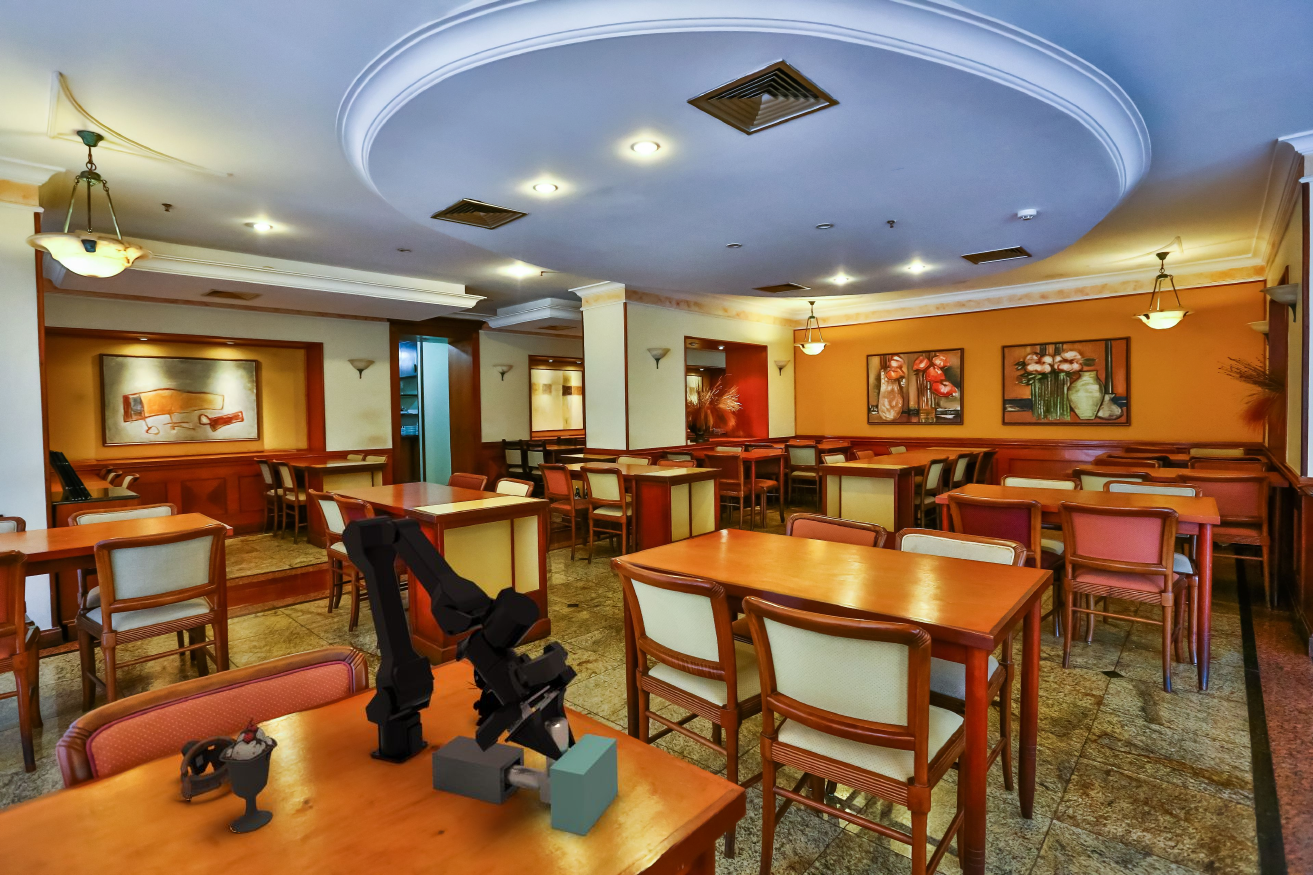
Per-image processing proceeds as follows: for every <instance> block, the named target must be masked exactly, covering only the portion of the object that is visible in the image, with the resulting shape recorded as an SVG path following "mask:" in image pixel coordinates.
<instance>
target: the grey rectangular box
mask: <svg viewBox="0 0 1313 875" xmlns="http://www.w3.org/2000/svg"><path fill="white" fill-rule="evenodd" d="M431 762H432V763H431V764H432V768H431V769H432V789H433V790H436V791H441V792H444V793H449V794H454V795H458V796H462V797H466V798H470V799H475V800H478V801H483V802H486V803H492V804H495V805H500V806H501V805H502V804H503V803H505V801H506V800H508V799H509V798H510V797H511V796H512V795H513V794H515V792H516V791H517V790H518V789H520V788H521V787H519V786H515V785H510V784H506V783H504V770H505V769H506V768H507V767H509V766H510V765H511V764H515V765H520V766H525V748H524V747H519V746H514V745H510V744H505V743H499V742H497V743H496V744H494V745H493V746H492V747H490V748H489V749H488V750H486V751H485V752H483V751H482V749H481V748H480V747H479V745H478V744H477V742H476V741H475V738H473V737H469V736H464V735H457V736H456V737H454V738H453V739H452V740H450V741H449V742H447V743H446V744H444V745H442V746H441V747H440V748H438V749H437V750H435V751H434V752H433V753H431Z"/></svg>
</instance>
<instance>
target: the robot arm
mask: <svg viewBox="0 0 1313 875" xmlns="http://www.w3.org/2000/svg"><path fill="white" fill-rule="evenodd" d="M341 541H342V545H343V546H344V549H345V552H346V554H347V558H348V560H349V561H350V562H351V563H352V564H353V565H354V567H356V568H357V569H358V571H359V572H361V573H362V576H363V580H364V585H365V589H366V593H367V599H368V602H369V608H370V611H371V616H372V621H373V626H374V631H375V635H376V638H377V643H378V648H379V653H380V657H381V661H380V663H379V667H378V669H377V671H376V675H375V679H374V682H375V689H376V690H375V692H376V693H375V694H374V696H373V697H372V698H371V700H370V701H369V702H368V703H367V705H366V706H365V707H364V709H365V715H366V718H367V721H368V722H370V723H372V724H375V725H377V740H378V742H377V744H378V746H377V747H378V748H376V750H374V751H372V752H371V753H370V755H371V757H372V758H377V759H380V760H384V761H389V762H395V763H399V764H401V763H404V762H405V761H407V760H408V759H410V758H411V757H413V756H414V755H415V754H416V753H418V752H420V751H422V750H424V749H425V748H426V747H428V746H429V742H428V741H427V740H424V738H423V737H424V736H423V723H422V720H421V719H422V718H421V711H422V710H424V709H428V708H429V707H430V704H431V700H432V695H433V692H434V689H435V686H434V685H435V683H434V680H436V679H435V677H434V675H433V671H432V667H431V660H430V658H429V657H428V656H426V655H425V656H421V655H420V654H419V653H418V652H417V651H416V650H415V649H414V647H413V641H412V638H411V633H410V629H409V628H410V627H409V624H408V620H407V617H406V612H405V606H404V602H403V598H402V594H401V589H400V585H399V580H398V576H397V573H396V567H395V563H396V560H397V558H398V556H399V557H400V559H401V560H402V561H403V563H404V564H405V565H406V566H407V568H408V569H409V571H410V572H411V573H412V574H413V576H414V578H416V579H417V581H418V582H419V584H420V585H421V587H423V588H424V590H425V592H426V593H427V594H428V596H429V598H430V612H431V614H432V616H433V618H434V620H435V621H436V623H437V625H438V627H439V629H440V630H441V632H443V633H444V634H445V635H446V636H450V637H451V636H453V637H455V636H459V635H462V634H464V633H467V632H469V631H472V630H473V631H472V632H471V633H470V635H469V636H466V637H464V638H463V639H461V640H459V641H457V642H456V652H455V661H456V662H460V661H462V660H464V659H466V658H467V659H468V661H469V662H470V663H471V665H472V667H473V668H474V667H475V669H476V670H477V671H478V673H479V674H480V675H481V676H482V678H483V679H484V681H485V682H486V683H487V684H486V685H485V686H484V687H483V688H482V689H483V690H484V692H485V693H486V694H487V693H489V692H490V691H493V692H494V694H495V695H496V696H497V698H498V699H499V700H500V702H501V703H502V704H503V706H502V707H500V708H499V709H498V710H496V711H495V712H493V714H492V715H491V716H490V717H489V718H488V719H487V720H486V721H485V722H484V723H483V724H482V725H481V726H478V728H476V730H475V731H474V733H475V735H474V736H475V738H474V739H475V741H476V742H477V744H478V745H479V747H480V748H481V749H482V751H483V752H485V751H486V750H488V749H489V748H490V747H492V746H493V745H494V744H496V743H499V738H500V737H501V736H502V735H503V734H504V733H505V731H506V732H507V733H508V734H509V735H508V736H506V738H504V740H503V741H504V742H505V743H506V744H507V743H509V742H511V743H513V744H517V745H519V746H522V747H523V748H524V747H525V748H526V749H529V750H532V751H534V752H536V753H538V754H540V755H542V756H544V757H545V758H546V757H549V758H551V759H553V760H555V761H558V760H559V759H560V758H561V757H562V756H563V755H562V753H561V751H560V749H559V748H558V746H557V744H556V743H555V741H554V740H553V739H552V737H551V736H550V734H549V733H548V731H547V730H546V728H545V722H546V721H547V720H548V719H551V718H555V717H563V718H566V719H567V720H568V717H567V715H566V713H567V712H566V711H565V707H564V701H565V694H566V693H567V691H568V690H567V687H568V685H569V684H571V682H573V680H574V679H575V678H577V677H578V676H579V675H578V673H577V672H576V671H575V669H574V668H573V667H572V666H571V664H567V663H566V661H567V660H568V657H569V652H568V651H567V650H566V649H565V647H564V646H563V645H562V644H561V643H560V642H559V641H558V640H554V641H552V642H550V643H548V644H546V645H545V646H543V647H542V652H543V653H542V654H539V656H536V657H534V658H531V656H530V655H529V654H527V653H525V652H523V653H521V654H518V653H517V651H516V650H515V647H516V646H518V645H519V643H520V642H521V641H522V640H523V639H524V638H525V636H526V635H527V634H528V633H529V632H530V630H531V629H532V628H534V626H535V625H536V624H537V622H538V621H539V620H540V615H541V613H540V608H539V606H538V603H537V601H536V600H534V599H532V598H531V597H529V596H528V595H527V594H525V593H523V592H518V591H516V590H515V588H514V586H511V585H510V586H508V587H505V588H502V589H501V590H500V591H499V592H498V593H497V594H496V597H495V598H493V597H491V596H489V595H488V593H487V592H485V591H484V590H483V589H482V588H481V587H480V586H479V585H477V583H476V582H474V581H473V580H470V579H467V578H465V577H463V576H461V575H459V574H458V573H457V572H456V571H455V570H454V569H453V568H452V566H451V565H450V564H449V563H448V562H447V560H446V559H445V557H443V555H442V554H441V553H440V551H439V550H438V549H437V547H436V546H435V545H434V543H432V541H431V540H430V539H429V538H428V536H426V534H425V532H424V531H423V530H422V526H421V523H420V522H419V520H417V518H412V517H406V518H405V517H404V518H399V519H392V517H390V516H388V515H379V516H373V517H367V518H366V517H365V518H358V519H352V520H349V521H348V523H347V524H346V526H345V528H344V529H343V530H342V534H341ZM533 709H535V710H534V711H533ZM568 740H569V749H570V748H571V747H572V746H573V745H574V744H576V743H577V741H576V740H575V736H574V734H573V730H572V728H571V726H570V723H569V721H568Z"/></svg>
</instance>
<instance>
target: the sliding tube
mask: <svg viewBox="0 0 1313 875" xmlns="http://www.w3.org/2000/svg"><path fill="white" fill-rule="evenodd" d="M568 722H569V720H568V718H567V719H566V718H563V717H555V718H551V719H548V720H547V721H546V722H545V728H546V730H547V731H548V733H549V734H550V736H551V737H552V739H553V740H554V741H555V743H556V744H557V746H558V748H559V749H560V751H561V753H562V755H564V754H565V753H566V752H567V751H568V750H569V749H570V748H569V740H568ZM556 762H557V761H555V760H553V759H551V758H549V757H546V756H545V770H543V769H538V768H535V767H534V768H533V767H530V766H525V765H524V766H520V765H515V764H511V765H510V766H509V767H507V768H506V769H505V770H504V783H506V784H510V785H515V786H519V787H520V788H525V789H528V790H534V791H538V792H540V793H539V794H540V795H539V796H540V802H541V803H546V804H550V805H551V793H550V767H551V766H552V765H553V764H554V763H556Z"/></svg>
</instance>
